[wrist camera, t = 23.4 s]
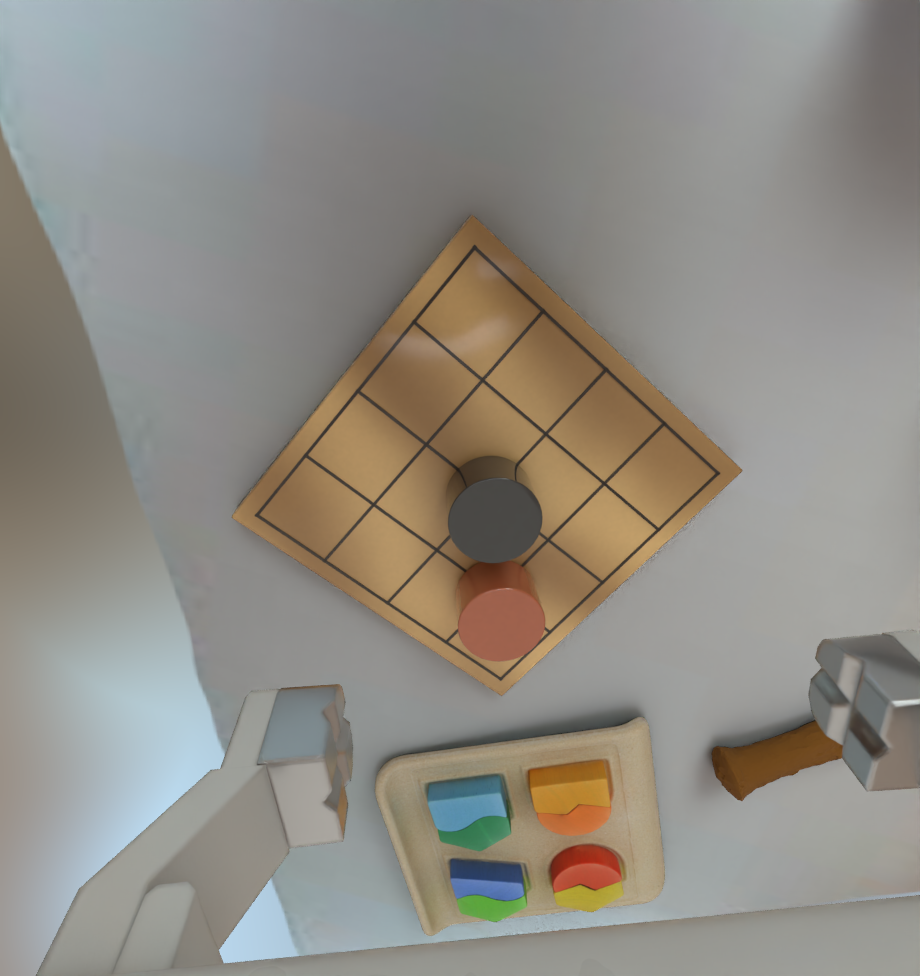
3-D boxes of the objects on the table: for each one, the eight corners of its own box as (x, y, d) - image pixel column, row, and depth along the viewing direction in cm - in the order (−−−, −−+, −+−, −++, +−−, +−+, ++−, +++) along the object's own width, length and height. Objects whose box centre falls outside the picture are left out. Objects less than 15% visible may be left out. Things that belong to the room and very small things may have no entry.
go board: (470, 214, 31) (472, 214, 30) (733, 463, 37) (743, 471, 36) (236, 508, 36) (230, 518, 35) (499, 683, 42) (501, 697, 41)
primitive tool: (979, 652, 43) (1025, 688, 40) (981, 711, 45) (1024, 749, 42) (701, 737, 45) (723, 778, 42) (715, 790, 47) (737, 832, 44)
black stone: (485, 437, 34) (491, 459, 31) (550, 490, 35) (562, 515, 32) (427, 502, 35) (428, 528, 32) (492, 550, 37) (498, 579, 34)
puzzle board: (370, 758, 44) (367, 800, 41) (644, 703, 43) (662, 741, 40) (427, 919, 51) (427, 966, 48) (663, 874, 50) (679, 918, 47)
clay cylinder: (451, 562, 37) (454, 592, 34) (534, 554, 37) (544, 584, 34) (457, 631, 39) (461, 666, 36) (537, 624, 39) (546, 658, 36)
